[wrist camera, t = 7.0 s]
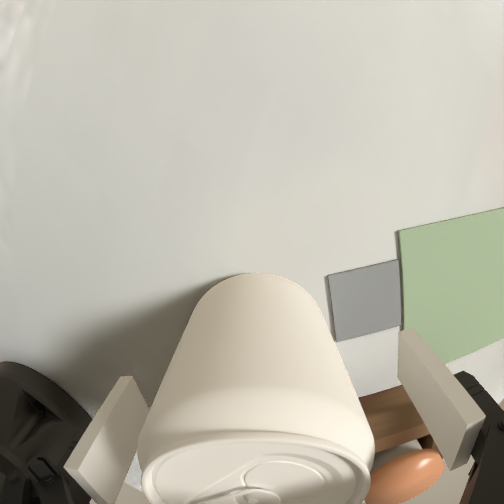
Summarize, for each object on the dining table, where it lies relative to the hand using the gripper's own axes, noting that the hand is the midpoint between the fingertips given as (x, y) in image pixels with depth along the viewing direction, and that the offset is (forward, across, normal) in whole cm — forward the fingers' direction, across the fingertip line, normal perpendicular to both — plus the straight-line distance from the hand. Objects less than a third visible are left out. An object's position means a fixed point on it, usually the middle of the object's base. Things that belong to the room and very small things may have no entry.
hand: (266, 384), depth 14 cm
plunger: (+5, +7, -11) cm, 14 cm away
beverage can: (+5, 0, 0) cm, 5 cm away
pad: (+6, +14, -1) cm, 16 cm away
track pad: (+5, +6, +1) cm, 8 cm away
